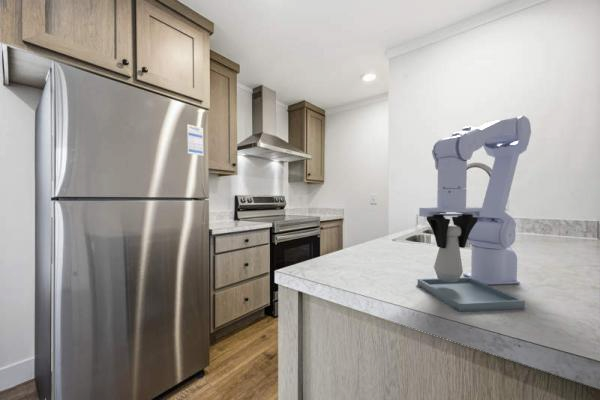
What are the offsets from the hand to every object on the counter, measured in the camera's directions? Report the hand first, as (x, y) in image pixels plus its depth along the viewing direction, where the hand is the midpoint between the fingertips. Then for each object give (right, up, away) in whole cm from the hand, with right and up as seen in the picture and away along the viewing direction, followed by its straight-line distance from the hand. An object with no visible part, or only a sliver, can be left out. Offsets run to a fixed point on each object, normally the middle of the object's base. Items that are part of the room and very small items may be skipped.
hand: (450, 247), depth 57 cm
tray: (+2, -10, -2) cm, 11 cm away
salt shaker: (0, -8, +1) cm, 8 cm away
